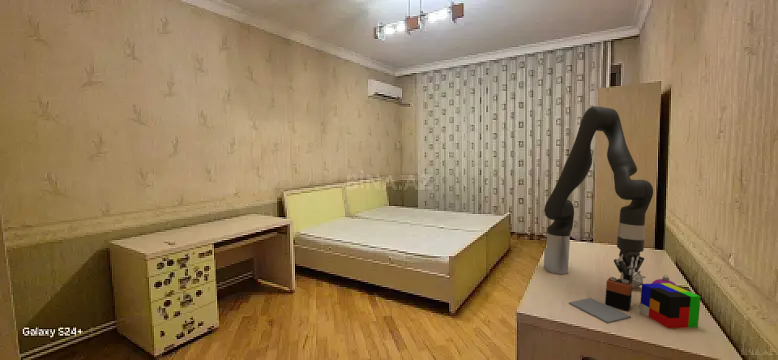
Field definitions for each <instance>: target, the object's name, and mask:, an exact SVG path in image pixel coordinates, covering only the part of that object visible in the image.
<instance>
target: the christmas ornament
mask: <svg viewBox="0 0 778 360" xmlns="http://www.w3.org/2000/svg"><path fill="white" fill-rule="evenodd" d="M656 283H670V284H672V285H675V286H677V287H679V286H678V285H677V284H676V283H675V282H674V281H671V280H670V277H669V276H666V274H664V275H663V276H662V278H657V279H655V280H653V281H652V283H651V284H656Z"/></svg>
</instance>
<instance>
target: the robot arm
mask: <svg viewBox="0 0 778 360" xmlns="http://www.w3.org/2000/svg"><path fill="white" fill-rule="evenodd" d="M596 132H602V133H603V134H604V135H605V137H606V138H607V141H608V144H607V145H608V146H607V152H606V157H607V161H608V164H609V167H610V168H611V171H612V173H613V182H614V191H615V194H616V195H617V196H618V198H620V199H621V200H624V201H631V202H630V203H629V204H628V205H625V206H622V207H620V209H619V210H620V211H619V223H618V227H617V237H616V247H617V248H618V249H619V254H618V258H614V259H613V262H614V265H615V266H616V269H617V270H618V272H619V273H620V272H622V273H623V279H626V280H628V281H629V282H631V283H632V280H633V275H634V273H635V272H639V270H640V268H641V266H642V264H644V263H643V262H644V261H645V258H644V257H642V256H641V253H643V252H644V251H645V250H644V249H645V238H646V237H645V236H646V234H645V233H646V228H645V226H646V225H645V224H646V223H645V222H646V213H647V211H648V208H649V206H650V203H651V201H652V199H653V197H654V188H653V184H651V182H649V181H648V180H646V179H632V178H631V176H633V175H635V174H636V173H637V171H638V167H637V164H636V163H635V161H634V158H633V156H632V154H631V152H630V150H629V148H628V144H627V143H626V138H625V134H624V130H623V126H622V123H621V119H620V115H619V113H618V111H617V110H616V109H614V108H611V107H603V106H597V105H594V106H591V107H589V108H587V110H586V111H585V112H584V114H583V116H582V119H581V121H580V125H579V128H578V130H577V133H576V137H575V140H574V142H573V145H572V147H571V150H570V152H569V155H568V157H567V158H566V161H565V164H564V166H563V168H562V170H561V173H560V175H559V178H558V180H557V182H556V184H555V187H554V189H553V191H552V192H551V194H550V196H548V199H547V201H546V203H545V204H544V208H543V209H544V215H545V216H546V217H547V218H548V219H549V220H551V221H553V222H552V223H551V224H550V225H548V226H547V231H546V246H545V248H544V253H543V268H544V269H545V271H546V272H549V273H552V274H557V275H564V274H565V275H567V274H568V273H569V264H570V263H569V260H570V240H571V233H572V232H571V231H572V230H573V226H574V220H575V219H574V218H575V207H574V205H573V203H572V201H571V200H569V197H570V195H571V194H572V193H573V192H574V190H576V188H578V187H579V186H580V185H581V184H582V182H584V180H585V179H586V178H587V176H588V174H589V172H590V169H591V167H592V165H593V155H592V149H591V146H592V145H591V144H592V141H593V138H594V136H595V133H596Z"/></svg>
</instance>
